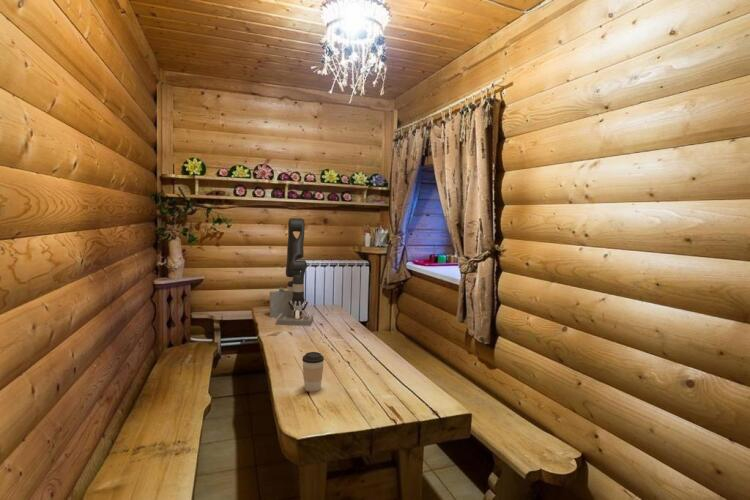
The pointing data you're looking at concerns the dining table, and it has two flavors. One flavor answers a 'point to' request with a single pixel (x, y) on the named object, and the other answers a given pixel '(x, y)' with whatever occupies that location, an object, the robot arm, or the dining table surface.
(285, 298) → the grey upright panel
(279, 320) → the console
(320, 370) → the coffee cup
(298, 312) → the fader tab
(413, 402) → the dining table surface
